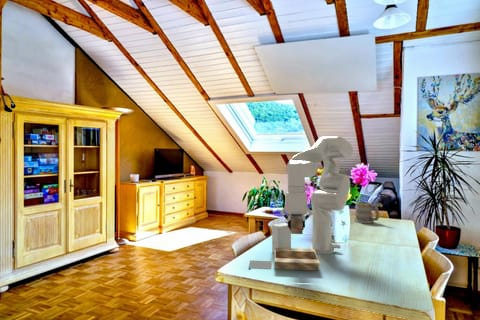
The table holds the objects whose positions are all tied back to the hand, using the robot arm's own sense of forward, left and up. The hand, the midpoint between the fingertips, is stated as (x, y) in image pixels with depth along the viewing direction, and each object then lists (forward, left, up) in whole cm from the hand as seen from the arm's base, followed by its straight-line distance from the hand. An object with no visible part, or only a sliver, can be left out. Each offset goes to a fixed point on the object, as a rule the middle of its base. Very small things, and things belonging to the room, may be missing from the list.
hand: (296, 228), depth 151 cm
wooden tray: (0, 0, -17) cm, 17 cm away
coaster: (+16, +2, -17) cm, 24 cm away
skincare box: (+6, -18, -17) cm, 25 cm away
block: (0, 0, -1) cm, 1 cm away
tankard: (-59, -98, -17) cm, 115 cm away
